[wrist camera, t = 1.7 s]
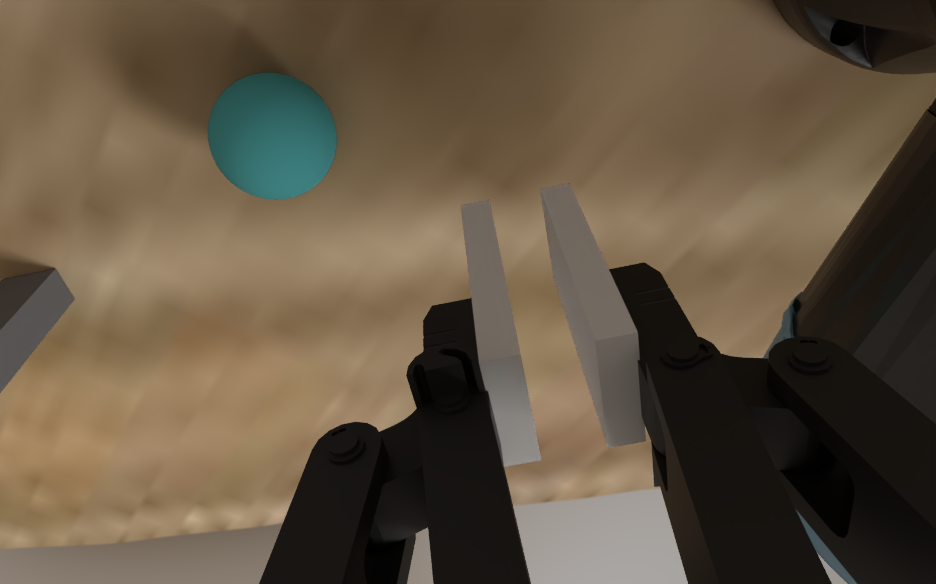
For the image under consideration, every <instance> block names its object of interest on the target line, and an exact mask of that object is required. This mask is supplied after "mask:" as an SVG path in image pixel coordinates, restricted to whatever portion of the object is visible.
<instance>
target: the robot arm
mask: <svg viewBox="0 0 936 584" xmlns="http://www.w3.org/2000/svg"><path fill="white" fill-rule="evenodd" d="M774 1H775V3H776V5H777V7H778V8H779V10H780V12H781V13H782V15H783V16H784V18H785V19H786V20H787V22H788V23H789V24H790V25H791V26H792V28H793V29H794V30H795V31H796V32H797V33H798V34H799V35H800V36H802V37H803V38H804V39H805V40H806V41H808V42H809V43H811V44H812V45H813V46H815V47H817V48H818V49H820V50H822V51H824V52H826V53H828V54H830V55H832V56H835V57H837V58H839V59H841V60H843V61H845V62H848V63H850V64H852V65H855V66H858V67H861V68H864V69H868V70H872V71H877V72H884V73H891V74H922V73H934V72H936V0H774ZM540 191H541V198H542V205H543V211H544V218H545V225H546V231H547V238H548V245H549V251H550V258H551V265H552V271H553V277H554V281H555V284H556V287H557V290H558V293H559V296H560V299H561V303H562V306H563V309H564V312H565V315H566V318H567V321H568V324H569V328H570V331H571V334H572V337H573V340H574V343H575V346H576V350H577V353H578V356H579V359H580V362H581V365H582V368H583V372H584V375H585V378H586V381H587V384H588V387H589V390H590V394H591V397H592V400H593V403H594V406H595V409H596V412H597V416H598V419H599V422H600V425H601V428H602V431H603V434H604V437H605V441H606V444H607V447H608V448H611V447H616V446H622V445H627V444H633V443H638V442H644V441H646V437H645V426H646V429H647V431H648V434H649V436H650V439H651V443H652V458H653V473H654V487H657V486H660V487H661V491H662V494H663V498H664V501H665V505H666V508H667V511H668V515H669V518H670V522H671V525H672V529H673V532H674V536H675V539H676V543H677V546H678V550H679V553H680V556H681V560H682V563H683V567H684V571H685V574H686V577H687V581H688V584H832V583H831V581H830V579H829V577H828V575H827V573H826V571H825V569H824V567H823V565H822V563H821V561H820V559H819V557H818V554H819V555H820V556H821V557H822V558H823V559H824V561H826V563H827V564H828V565H829V566H830V567H831V568H832V569H833V570H834V571H835V572H836V573H837V574H838V575H839V576H840V577H842V579H844V580H845V581H846V582H847V583H848V584H936V99H935V100H934V102H933V103H932V105H931V106H930V107H929V109H927V110H926V111H925V113H924V114H923V116H922V117H921V119H920V120H919V121H918V123H917V124H916V126H915V127H914V129H913V130H912V132H911V133H910V135H909V136H908V138H907V139H906V141H905V142H904V144H903V145H902V147H901V148H900V150H899V151H898V152H897V154H896V155H895V157H894V158H893V160H892V161H891V163H890V164H889V166H888V167H887V169H886V170H885V172H884V173H883V175H882V176H881V178H880V179H879V181H878V182H877V183H876V185H875V186H874V188H873V189H872V191H871V192H870V194H869V195H868V197H867V198H866V200H865V201H864V203H863V204H862V206H861V207H860V209H859V210H858V212H857V213H856V215H855V216H854V217H853V219H852V220H851V222H850V223H849V225H848V226H847V228H846V229H845V231H844V232H843V234H842V235H841V237H840V238H839V240H838V241H837V243H836V244H835V246H834V247H833V248H832V250H831V251H830V253H829V254H828V256H827V257H826V259H825V260H824V262H823V263H822V265H821V266H820V268H819V269H818V271H817V272H816V274H815V275H814V277H813V278H812V279H811V281H810V282H809V284H808V285H807V287H806V288H805V290H804V291H803V292H801V293H800V294H798V295H797V296H796V297H795V298H794V299H793V300H792V301H791V303H790V305H789V308H788V309H787V310H786V311H785V312H784V314H783V320H782V327H781V329H780V330H779V332H778V334H777V335H776V337H775V339H774V340H773V342H772V344H771V345H770V347H769V349H768V350H767V352H766V354H765V355H764V357H763V358H742V357H732V356H728V355H724V354H721V353H720V352H719V350H718V349H717V348H716V347H715V346H714V344H713V343H711V342H709V341H707V340H705V339H703V338H702V337H698V336H697V334H696V333H695V331H694V329H693V328H692V326H691V324H690V322H689V321H688V319H687V317H686V316H685V314H684V312H683V310H682V309H681V307H680V305H679V304H678V302H677V300H676V299H675V297H674V295H673V293H672V292H671V290H670V288H668V285H667V283H666V281H665V280H664V278H663V276H662V274H661V273H660V272H659V271H657V270H656V269H654V268H652V267H651V266H649V265H648V264H646V263H639V264H634V265H629V266H624V267H619V268H614V269H608V266H607V264H606V262H605V260H604V258H603V256H602V253H601V251H600V249H599V247H598V245H597V243H596V240H595V238H594V236H593V234H592V232H591V230H590V227H589V225H588V223H587V221H586V219H585V217H584V214H583V212H582V210H581V208H580V206H579V203H578V201H577V199H576V197H575V195H574V193H573V190H572V188H571V186H570V184H569V183H567V184H562V185H557V186H552V187H547V188H542V189H540ZM461 212H462V220H463V229H464V238H465V246H466V255H467V264H468V272H469V281H470V290H471V298H470V299H465V300H460V301H455V302H449V303H444V304H439V305H434V306H432V307H431V309H430V310H429V312H428V314H427V315H426V317H425V319H424V320H423V336H424V338H423V347H424V350H423V352H422V353H421V354H420V355H418V356H417V357H415V358H414V360H413V361H412V362H411V364H410V365H409V366H408V370H407V375H406V376H407V379H408V382H409V385H410V388H411V392H412V395H413V398H414V401H415V404H416V407H417V409H416V410H415V411H414V412H413V413H412V414H411V415H410V416H409V417H407V418H406V419H405V420H403V421H401V422H400V423H398V424H396V425H394V426H392V427H389V428H387V429H385V430H383V431H380V432H378V430H377V428H376V427H374V426H372V425H370V424H368V423H361V422H352V423H347V424H343V425H340V426H338V427H336V428H334V429H332V430H330V431H328V432H327V433H326V434H325V435H324V436H322V437H321V438H320V439H319V440H318V441H317V443H316V445H315V446H314V448H313V449H312V451H311V454H310V456H309V459H308V461H307V464H306V466H305V469H304V472H303V474H302V477H301V479H300V482H299V484H298V487H297V489H296V492H295V494H294V497H293V499H292V502H291V504H290V507H289V510H288V512H287V515H286V517H285V520H284V522H283V525H282V527H281V530H280V533H279V535H278V538H277V540H276V543H275V545H274V548H273V550H272V553H271V555H270V558H269V560H268V563H267V565H266V568H265V570H264V573H263V575H262V578H261V580H260V583H259V584H407V580H408V574H409V570H410V565H411V560H412V555H413V550H414V545H415V539H416V535H415V534H416V533H417V532H419V531H421V530H423V529H425V528H427V527H428V529H429V540H430V550H431V561H432V571H433V581H434V584H531V582H530V578H529V573H528V569H527V565H526V560H525V556H524V552H523V547H522V543H521V539H520V534H519V530H518V526H517V522H516V517H515V513H514V509H513V504H512V500H511V496H510V491H509V487H508V483H507V479H506V475H505V470H504V467H507V466H512V465H518V464H523V463H528V462H534V461H539V460H541V456H540V451H539V446H538V441H537V436H536V430H535V425H534V420H533V415H532V410H531V405H530V400H529V395H528V390H527V384H526V379H525V374H524V369H523V364H522V359H521V354H520V349H519V344H518V339H517V334H516V329H515V324H514V319H513V314H512V309H511V304H510V299H509V294H508V289H507V284H506V280H505V275H504V270H503V265H502V260H501V255H500V250H499V245H498V240H497V235H496V230H495V225H494V220H493V215H492V210H491V205H490V200H484V201H479V202H474V203H469V204H464V205H461ZM817 553H818V554H817Z"/></svg>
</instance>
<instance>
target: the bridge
mask: <svg viewBox="0 0 936 584" xmlns="http://www.w3.org/2000/svg"><path fill="white" fill-rule="evenodd" d="M73 301H74V297H73V296H72V294H71V293H70V291H69V289H68V288H67V286H66V285H65V283H64V281H63V280H62V278H61V277H60V275H59V273H58V272H57V270H56V269H52V270H47V271H42V272H37V273H32V274H27V275H23V276H18V277H13V278H8V279H3V280H2V281H1V282H0V393H1V392H2V390H3V389H4V388H5V386H6V385H7V384H8V383H9V381H10V380H11V379H12V378H13V376H14V375H15V374H16V373H17V371H18V370H19V369H20V368H21V366H22V365H23V364H24V362H25V361H26V360H27V359H28V357H29V356H30V355H31V354H32V352H33V351H34V350H35V349H36V347H37V346H38V345H39V344H40V342H41V341H42V340H43V339H44V337H45V336H46V335H47V333H48V332H49V331H50V330H51V328H52V327H53V326H54V325H55V323H56V322H57V321H58V320H59V318H60V317H61V316H62V315H63V313H64V312H65V311H66V309H67V308H68V307H69V306H70V304H71V303H72V302H73Z"/></svg>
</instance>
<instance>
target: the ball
mask: <svg viewBox="0 0 936 584" xmlns="http://www.w3.org/2000/svg"><path fill="white" fill-rule="evenodd" d="M208 141H209V146H210V150H211V153H212V156H213V158H214V160H215V162H216V164H217V166H218V168H219V169H220V171H221V172H222V173H223V174H224V175H225V177H226V178H227V179H228V180H229V181H230V182H231V183H233V184H234V185H235V186H237V187H238V188H239V189H241V190H243V191H244V192H247V193H249V194H251V195H254V196H257V197H260V198H265V199H274V200H277V199H288V198H292V197H296V196H298V195H301V194H303V193H305V192H307V191H309V190H310V189H312V188H313V187H314V186H316V185H317V184H318V183H319V182H320V181H321V180H322V179H323V178H324V176H325V175H326V174H327V172H328V170H329V168H330V166H331V164H332V162H333V159H334V156H335V152H336V145H337V135H336V128H335V124H334V120H333V117H332V115H331V112H330V110H329V109H328V107H327V105H326V104H325V102H324V101H323V99H322V98H321V97H320V96H319V95H318V94H317V93H316V92H315V91H314V90H313V89H312V88H311V87H309V86H308V85H306V84H305V83H303V82H302V81H300V80H298V79H296V78H293V77H291V76H288V75H284V74H280V73H258V74H253V75H250V76H246V77H244V78H242V79H239V80H238V81H236V82H235V83H233V84H232V85H230V86H229V87H228V88H227V89H226V90H225V91H224V92H223V93H222V94H221V95H220V97H219V98H218V100H217V101H216V103H215V105H214V107H213V109H212V111H211V114H210V119H209V124H208Z"/></svg>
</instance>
